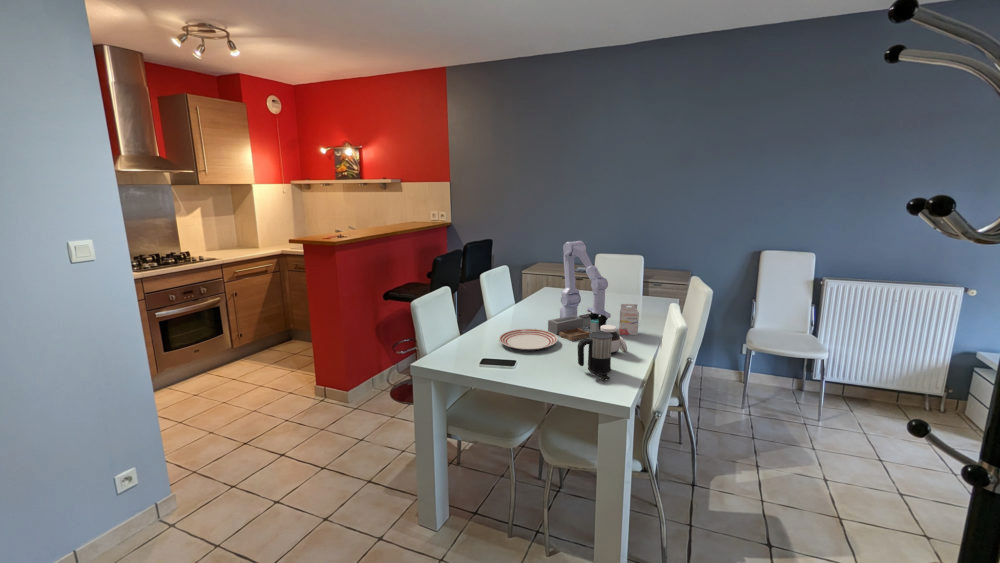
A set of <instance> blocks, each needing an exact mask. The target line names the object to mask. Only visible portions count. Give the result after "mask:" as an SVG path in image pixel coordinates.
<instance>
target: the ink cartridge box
mask: <svg viewBox="0 0 1000 563" xmlns="http://www.w3.org/2000/svg"><path fill="white" fill-rule="evenodd" d="M619 310H620V311H619V326H618V327H619V328H618V333H619V335H620V336H622V335H624V336H625V335H626V336H638V335H639V334H638V333H639V332H638V331H639V323H640V322H639V321H640V320H639V318H640V311H638V304H636V303H621V304H620V309H619Z"/></svg>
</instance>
